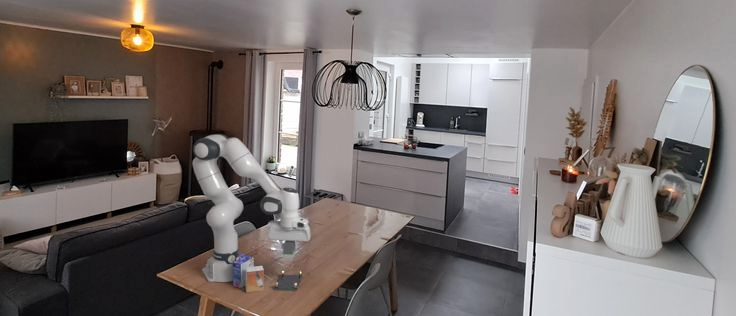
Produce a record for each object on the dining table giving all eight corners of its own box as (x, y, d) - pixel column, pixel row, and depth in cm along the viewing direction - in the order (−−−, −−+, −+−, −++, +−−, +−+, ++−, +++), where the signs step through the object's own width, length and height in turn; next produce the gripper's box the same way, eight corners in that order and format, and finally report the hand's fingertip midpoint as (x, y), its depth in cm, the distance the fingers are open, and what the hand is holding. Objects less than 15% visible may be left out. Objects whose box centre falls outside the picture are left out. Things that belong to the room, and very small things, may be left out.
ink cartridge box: (245, 277, 209) (245, 250, 206) (254, 280, 207) (254, 252, 204) (232, 286, 200) (231, 257, 197) (241, 288, 198) (241, 259, 195)
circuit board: (280, 257, 198) (280, 245, 197) (285, 249, 207) (285, 238, 206) (293, 257, 197) (293, 246, 197) (297, 249, 207) (297, 238, 206)
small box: (246, 293, 194) (246, 271, 192) (245, 287, 199) (245, 267, 197) (264, 290, 197) (264, 269, 195) (262, 285, 202) (262, 265, 200)
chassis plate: (274, 289, 198) (274, 283, 197) (281, 276, 212) (281, 269, 212) (296, 291, 198) (296, 284, 197) (302, 277, 212) (302, 270, 212)
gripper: (266, 222, 197) (266, 250, 199) (309, 224, 197) (308, 252, 199) (269, 218, 203) (269, 245, 205) (311, 220, 203) (310, 247, 205)
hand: (289, 248), depth 202 cm, fingers closed on circuit board, 4 cm apart
